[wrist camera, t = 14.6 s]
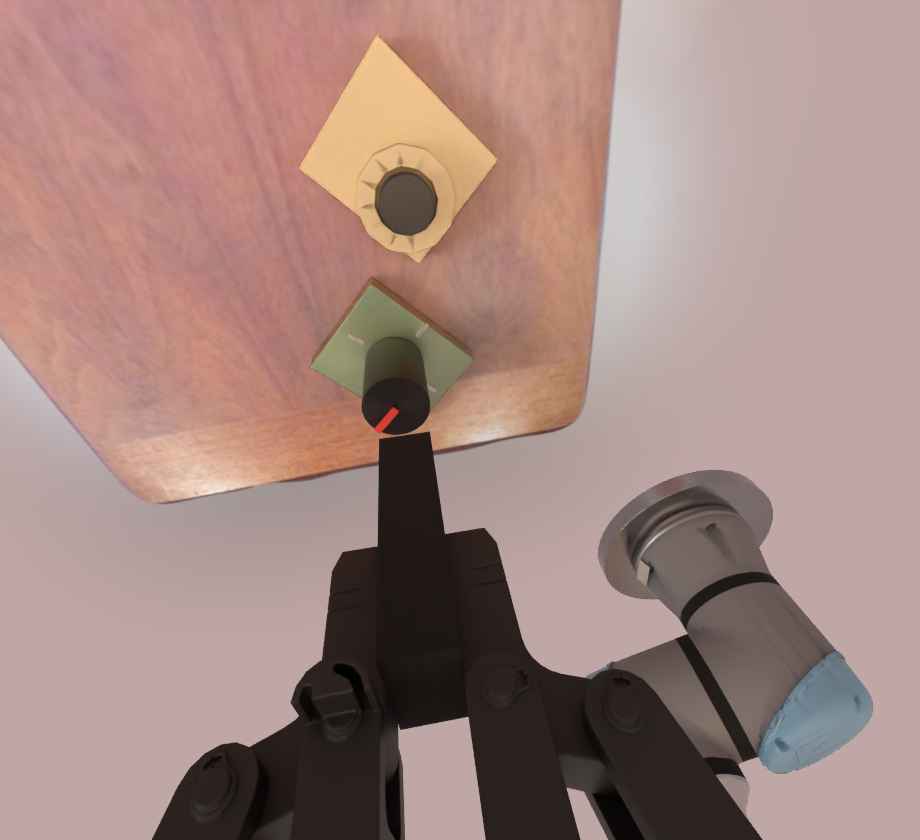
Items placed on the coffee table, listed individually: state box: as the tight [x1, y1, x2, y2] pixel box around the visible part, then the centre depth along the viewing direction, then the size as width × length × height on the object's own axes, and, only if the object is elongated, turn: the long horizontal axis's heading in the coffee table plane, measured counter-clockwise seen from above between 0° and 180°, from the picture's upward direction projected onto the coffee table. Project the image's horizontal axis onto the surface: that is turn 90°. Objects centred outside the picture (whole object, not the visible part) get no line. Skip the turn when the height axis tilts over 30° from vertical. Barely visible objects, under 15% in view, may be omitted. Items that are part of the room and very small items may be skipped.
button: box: [379, 172, 435, 235], centre depth 29 cm, size 4×4×2 cm
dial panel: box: [310, 277, 475, 410], centre depth 39 cm, size 11×9×2 cm
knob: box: [362, 337, 430, 435], centre depth 35 cm, size 5×5×7 cm
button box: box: [299, 35, 497, 264], centre depth 30 cm, size 10×9×4 cm
